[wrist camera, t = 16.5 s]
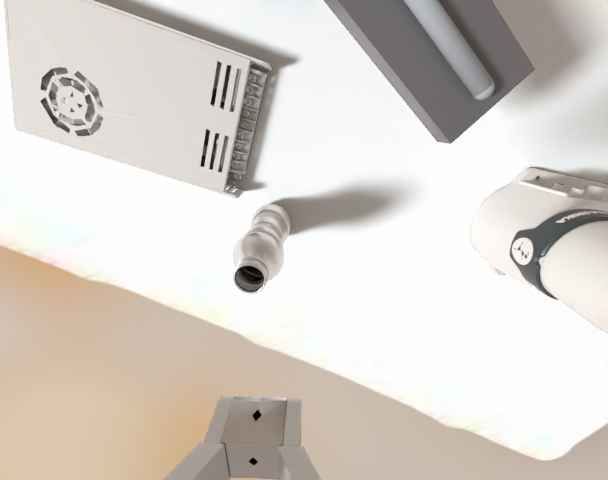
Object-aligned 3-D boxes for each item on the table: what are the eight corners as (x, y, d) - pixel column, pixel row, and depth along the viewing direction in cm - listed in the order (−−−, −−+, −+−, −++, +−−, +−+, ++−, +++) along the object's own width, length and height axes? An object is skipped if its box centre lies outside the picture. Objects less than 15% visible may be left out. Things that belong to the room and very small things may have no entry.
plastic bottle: (287, 197, 47) (270, 246, 29) (295, 234, 50) (285, 300, 31) (250, 204, 48) (211, 256, 29) (260, 240, 50) (230, 308, 32)
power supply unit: (244, 191, 48) (237, 198, 43) (45, 129, 45) (15, 129, 40) (273, 69, 41) (268, 62, 36) (38, -15, 38) (0, -34, 33)
